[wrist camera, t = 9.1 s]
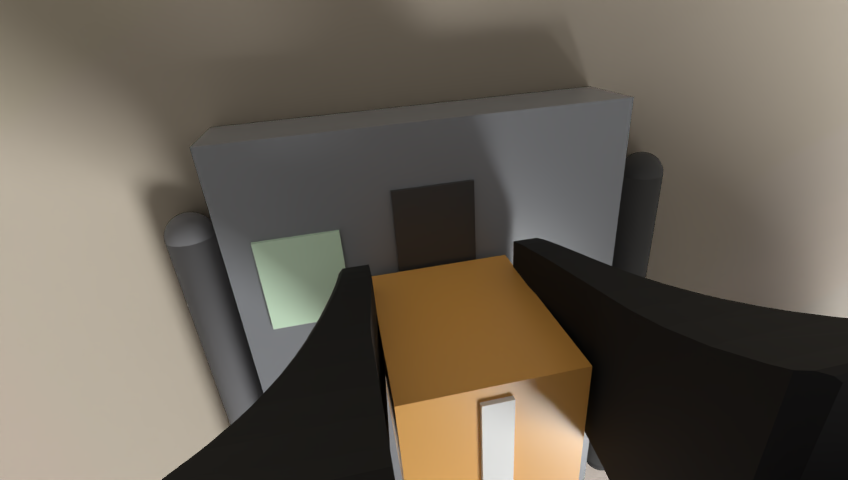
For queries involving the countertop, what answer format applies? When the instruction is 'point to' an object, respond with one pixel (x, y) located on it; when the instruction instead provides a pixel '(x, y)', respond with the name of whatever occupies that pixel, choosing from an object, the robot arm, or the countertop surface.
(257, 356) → the breaker panel
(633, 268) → the dark grey rod
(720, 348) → the robot arm
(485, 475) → the knob
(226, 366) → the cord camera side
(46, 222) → the countertop surface
